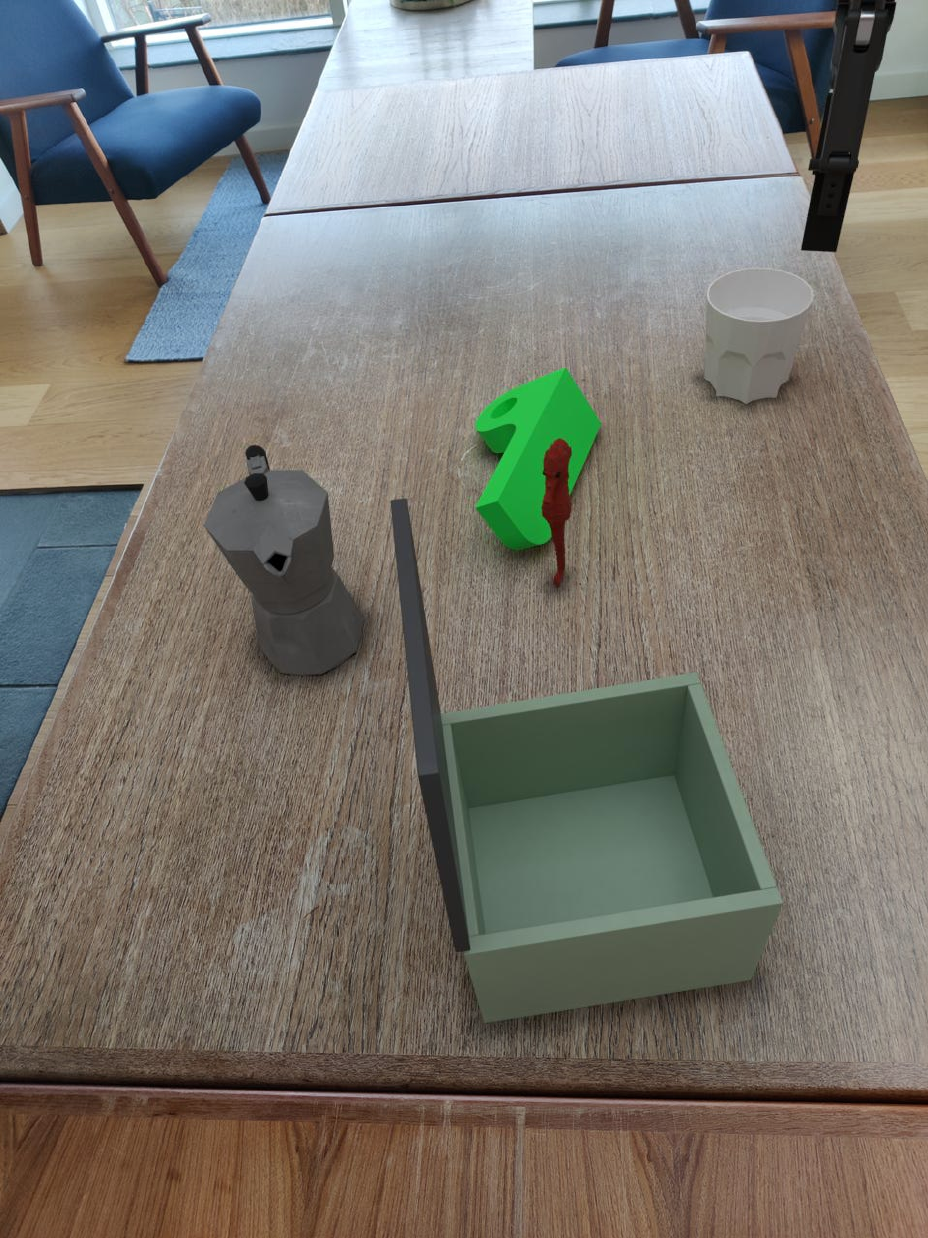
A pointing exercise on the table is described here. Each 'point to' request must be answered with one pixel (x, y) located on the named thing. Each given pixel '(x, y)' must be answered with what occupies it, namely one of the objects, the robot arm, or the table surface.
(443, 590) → the table surface
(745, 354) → the cup
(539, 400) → the bracket
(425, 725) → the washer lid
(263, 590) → the coffeepot
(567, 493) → the toy
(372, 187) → the table surface
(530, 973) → the green box
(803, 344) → the table surface
